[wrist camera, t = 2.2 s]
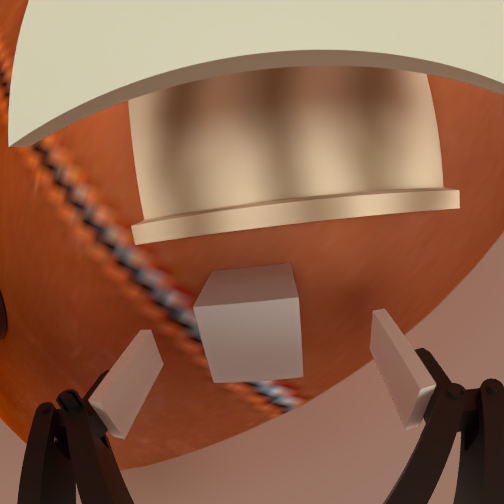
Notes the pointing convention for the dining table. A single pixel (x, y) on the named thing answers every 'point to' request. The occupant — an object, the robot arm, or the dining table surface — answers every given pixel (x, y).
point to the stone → (251, 324)
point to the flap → (231, 47)
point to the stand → (285, 150)
